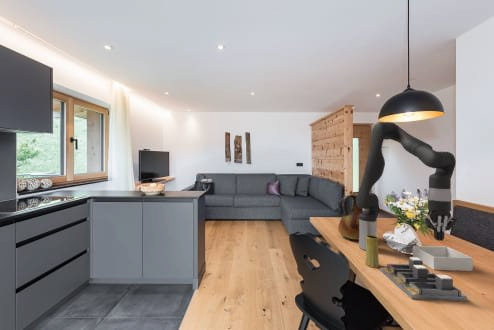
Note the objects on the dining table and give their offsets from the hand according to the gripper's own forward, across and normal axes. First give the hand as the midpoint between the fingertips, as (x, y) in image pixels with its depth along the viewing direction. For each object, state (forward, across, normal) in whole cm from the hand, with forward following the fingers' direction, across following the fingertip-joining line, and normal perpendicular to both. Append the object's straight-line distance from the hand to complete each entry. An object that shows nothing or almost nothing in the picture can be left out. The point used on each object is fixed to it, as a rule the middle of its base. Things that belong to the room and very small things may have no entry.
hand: (438, 239), depth 94 cm
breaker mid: (+17, +8, 0) cm, 19 cm away
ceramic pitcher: (+19, +11, -58) cm, 62 cm away
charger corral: (+19, -17, -21) cm, 33 cm away
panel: (+19, +8, 0) cm, 21 cm away
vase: (+19, +19, -17) cm, 32 cm away
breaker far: (+17, +4, -8) cm, 20 cm away
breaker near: (+17, +4, +8) cm, 20 cm away
